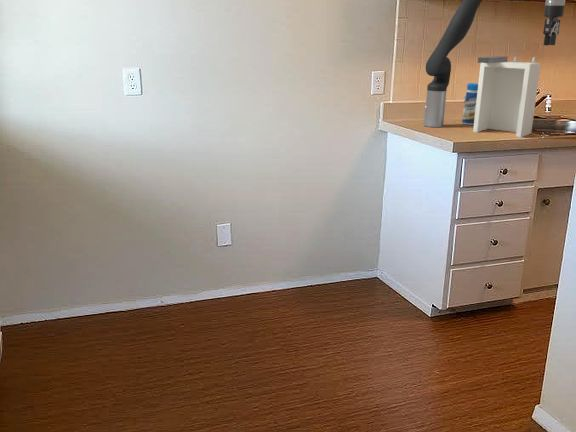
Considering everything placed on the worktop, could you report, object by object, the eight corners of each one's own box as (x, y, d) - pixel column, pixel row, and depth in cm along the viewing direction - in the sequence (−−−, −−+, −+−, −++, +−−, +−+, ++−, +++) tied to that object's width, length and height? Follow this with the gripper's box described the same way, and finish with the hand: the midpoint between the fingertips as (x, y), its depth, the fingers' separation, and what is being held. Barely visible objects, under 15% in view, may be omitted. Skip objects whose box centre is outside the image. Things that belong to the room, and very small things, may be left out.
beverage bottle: (480, 123, 317) (485, 83, 311) (475, 125, 310) (480, 84, 305) (464, 122, 322) (468, 82, 316) (459, 123, 315) (463, 83, 309)
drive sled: (477, 62, 274) (478, 57, 274) (496, 60, 293) (497, 56, 292) (488, 63, 272) (489, 57, 271) (507, 61, 290) (507, 56, 289)
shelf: (473, 131, 292) (481, 55, 282) (485, 127, 304) (493, 55, 294) (520, 137, 279) (530, 58, 269) (531, 133, 292) (541, 57, 281)
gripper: (559, 4, 251) (553, 45, 256) (568, 5, 262) (563, 45, 267) (540, 4, 255) (535, 45, 260) (550, 5, 266) (544, 44, 271)
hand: (549, 45), depth 263 cm, fingers open, 8 cm apart
